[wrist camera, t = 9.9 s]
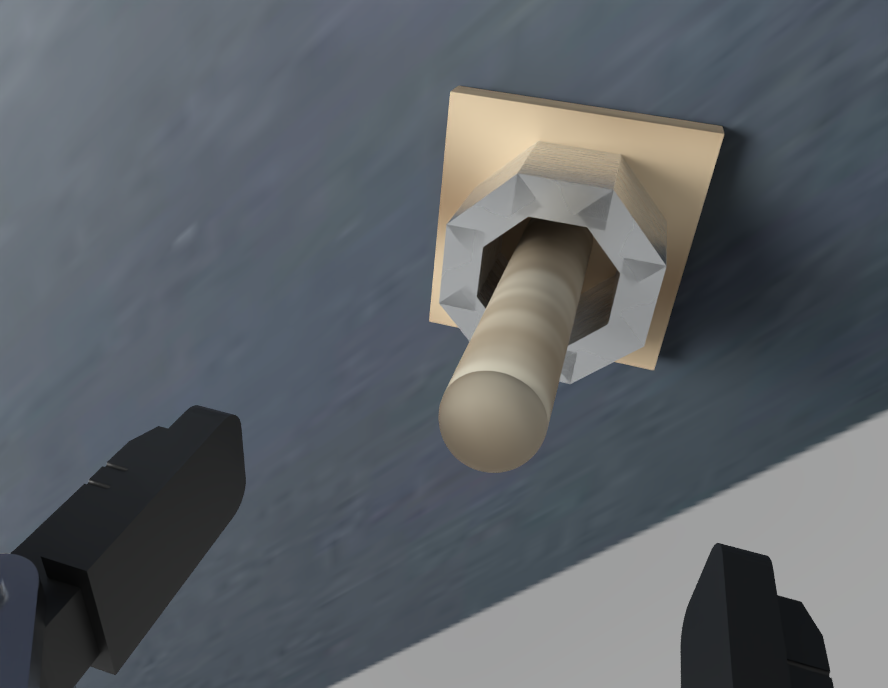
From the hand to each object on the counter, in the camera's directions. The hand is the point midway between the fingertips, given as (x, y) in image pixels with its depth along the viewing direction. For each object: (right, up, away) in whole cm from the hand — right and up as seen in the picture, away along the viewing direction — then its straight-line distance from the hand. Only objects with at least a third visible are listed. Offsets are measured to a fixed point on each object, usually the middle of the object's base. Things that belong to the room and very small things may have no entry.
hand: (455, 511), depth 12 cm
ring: (+4, +6, +11) cm, 13 cm away
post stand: (+4, +7, +12) cm, 14 cm away
